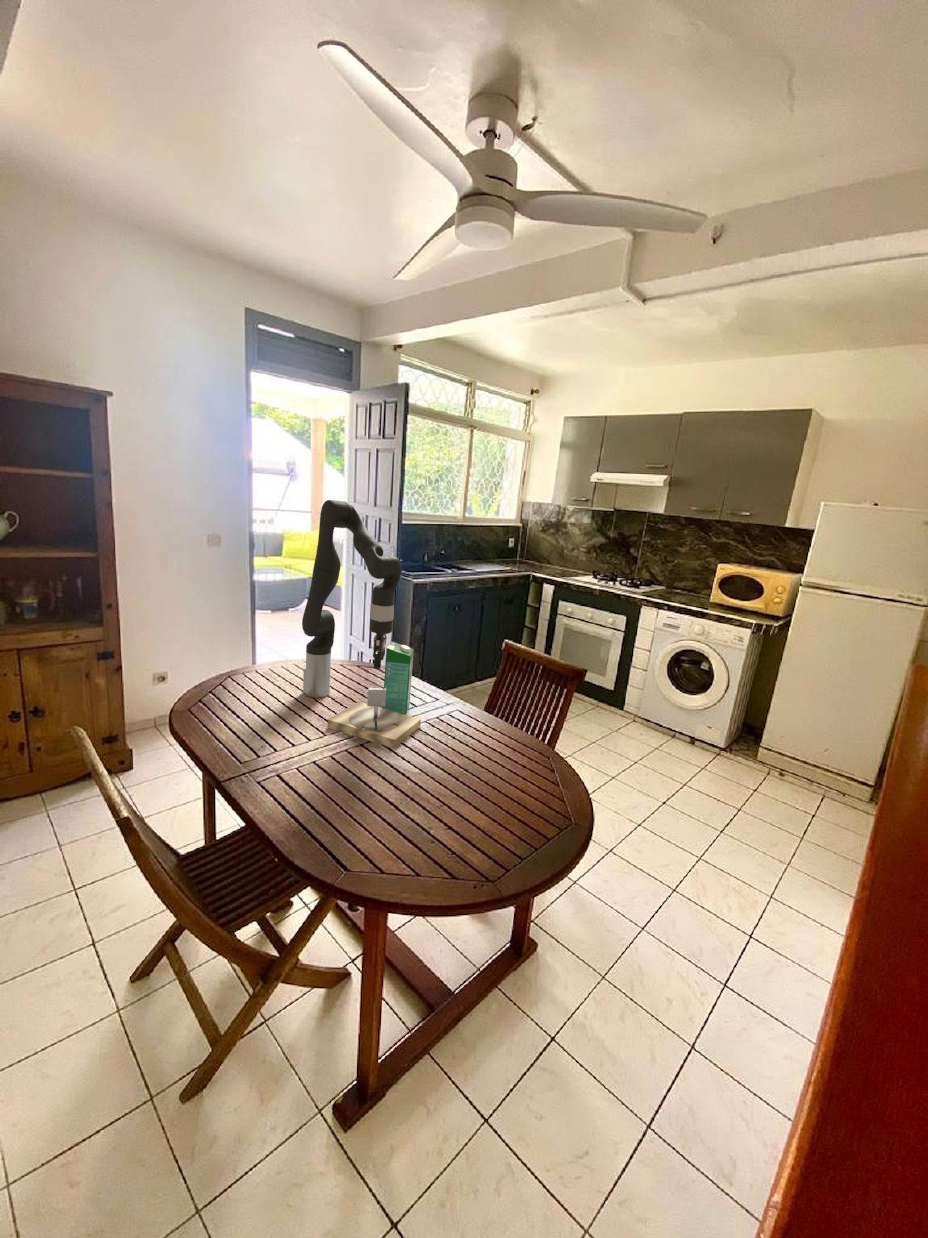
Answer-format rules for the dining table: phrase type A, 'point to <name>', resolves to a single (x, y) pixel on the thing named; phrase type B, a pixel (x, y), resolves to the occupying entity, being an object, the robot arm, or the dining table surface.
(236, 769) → the dining table surface
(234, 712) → the dining table surface
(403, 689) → the milk carton
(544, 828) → the dining table surface
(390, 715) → the dial board
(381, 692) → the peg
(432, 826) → the dining table surface
